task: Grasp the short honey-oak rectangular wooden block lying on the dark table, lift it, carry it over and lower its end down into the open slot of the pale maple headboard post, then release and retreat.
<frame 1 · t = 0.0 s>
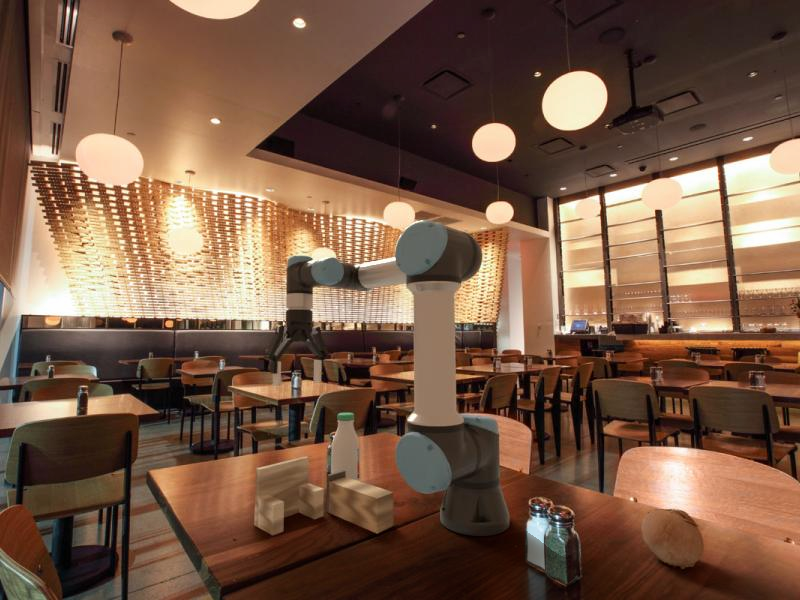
hand: (297, 384, 118), 28 cm above the table, fingers open, 13 cm apart
beige rounded lump: (673, 563, 75), on the table
rectangular wooden block: (360, 519, 94), on the table
milk bottle: (345, 488, 114), on the table
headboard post: (292, 522, 92), on the table
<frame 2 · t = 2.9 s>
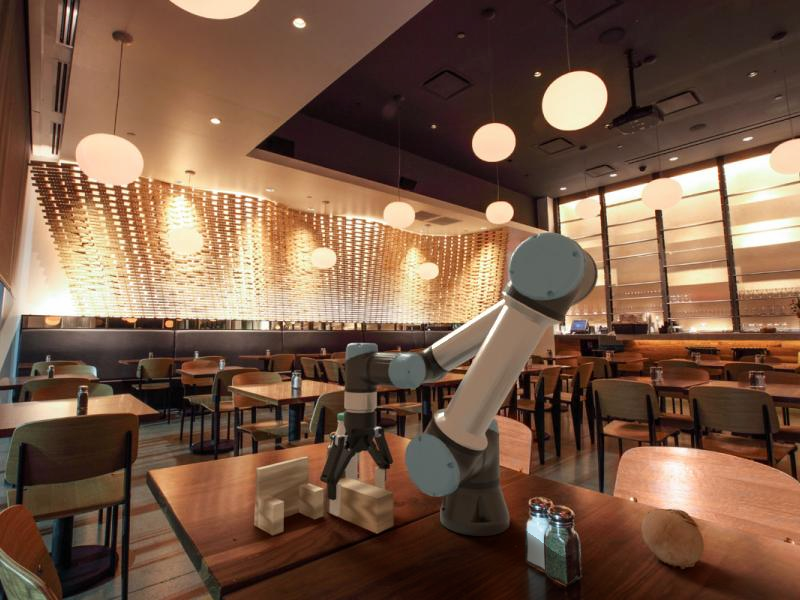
hand: (358, 505, 94), 3 cm above the table, fingers open, 13 cm apart
nothing on the table moved.
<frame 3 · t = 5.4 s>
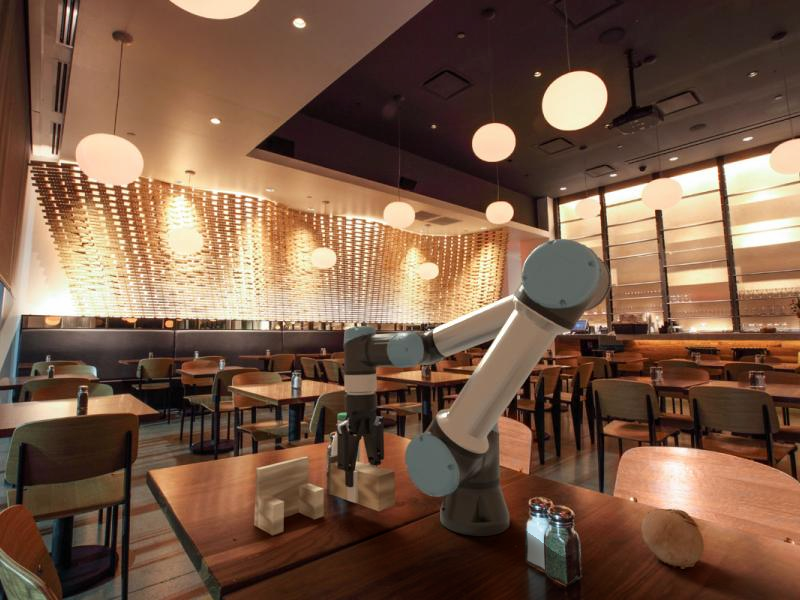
hand: (362, 497, 94), 5 cm above the table, fingers closed on rectangular wooden block, 5 cm apart
rectangular wooden block: (361, 499, 94), point 4 cm above the table, touching gripper
everything else where it was.
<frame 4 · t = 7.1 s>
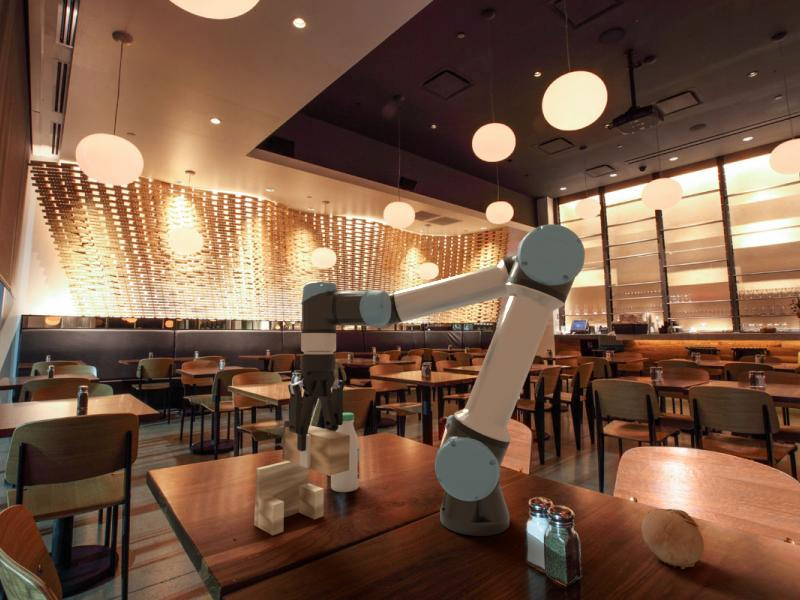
hand: (316, 463, 88), 14 cm above the table, fingers closed on rectangular wooden block, 5 cm apart
rectangular wooden block: (315, 464, 89), point 14 cm above the table, touching gripper
everything else where it was.
when the fingers open (1 cm above the table, at t = 9.2 s): rectangular wooden block stays where it is, on the table.
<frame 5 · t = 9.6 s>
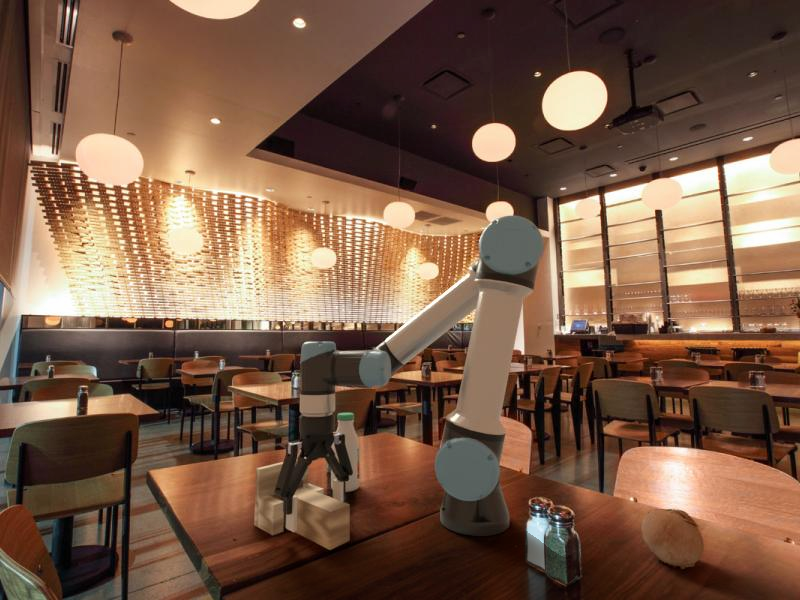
hand: (315, 520, 87), 3 cm above the table, fingers open, 11 cm apart
rectangular wooden block: (315, 533, 87), on the table
everything else where it was.
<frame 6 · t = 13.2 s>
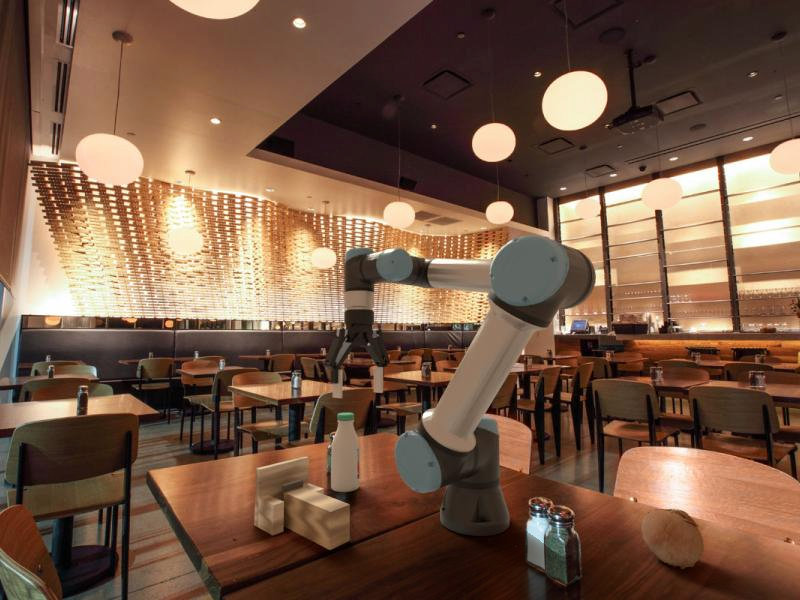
hand: (358, 395, 103), 27 cm above the table, fingers open, 13 cm apart
nothing on the table moved.
at the end: rectangular wooden block 0.1 cm from the target spot on the table beside the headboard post, on the table; rectangular wooden block tilted 0°; the gripper is holding nothing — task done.
